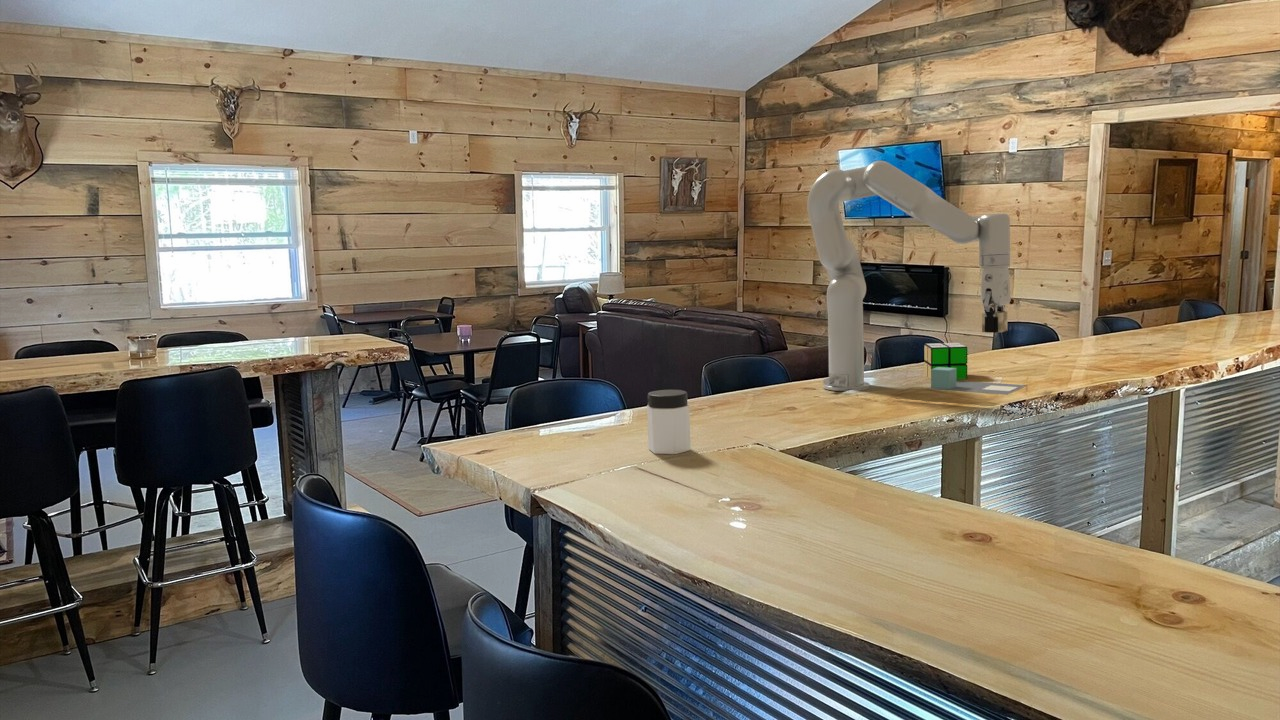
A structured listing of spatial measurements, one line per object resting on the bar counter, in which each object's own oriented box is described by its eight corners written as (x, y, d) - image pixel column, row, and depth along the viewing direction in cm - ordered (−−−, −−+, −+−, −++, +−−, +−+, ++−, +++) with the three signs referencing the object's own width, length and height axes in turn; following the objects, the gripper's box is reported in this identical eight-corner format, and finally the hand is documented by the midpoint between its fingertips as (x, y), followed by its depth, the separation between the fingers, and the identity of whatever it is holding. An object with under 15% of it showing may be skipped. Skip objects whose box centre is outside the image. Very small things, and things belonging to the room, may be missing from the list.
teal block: (949, 389, 245) (949, 370, 244) (930, 387, 248) (930, 369, 247) (956, 386, 249) (956, 368, 248) (938, 385, 252) (938, 367, 251)
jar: (670, 443, 197) (668, 387, 195) (698, 448, 191) (696, 391, 189) (640, 451, 191) (637, 393, 189) (667, 456, 185) (665, 397, 183)
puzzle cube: (959, 376, 271) (959, 342, 269) (967, 381, 261) (967, 346, 259) (923, 377, 272) (923, 343, 270) (931, 382, 262) (931, 347, 260)
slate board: (1007, 397, 234) (1007, 394, 234) (926, 391, 247) (926, 388, 247) (1027, 388, 246) (1027, 384, 246) (949, 382, 259) (949, 379, 259)
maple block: (1001, 332, 239) (1001, 313, 239) (982, 332, 242) (981, 313, 242) (1007, 330, 243) (1007, 311, 243) (988, 330, 246) (988, 311, 246)
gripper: (999, 262, 232) (999, 335, 234) (1019, 259, 245) (1019, 328, 247) (969, 263, 236) (969, 334, 238) (990, 260, 250) (990, 327, 252)
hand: (994, 330), depth 243 cm, fingers closed on maple block, 5 cm apart
